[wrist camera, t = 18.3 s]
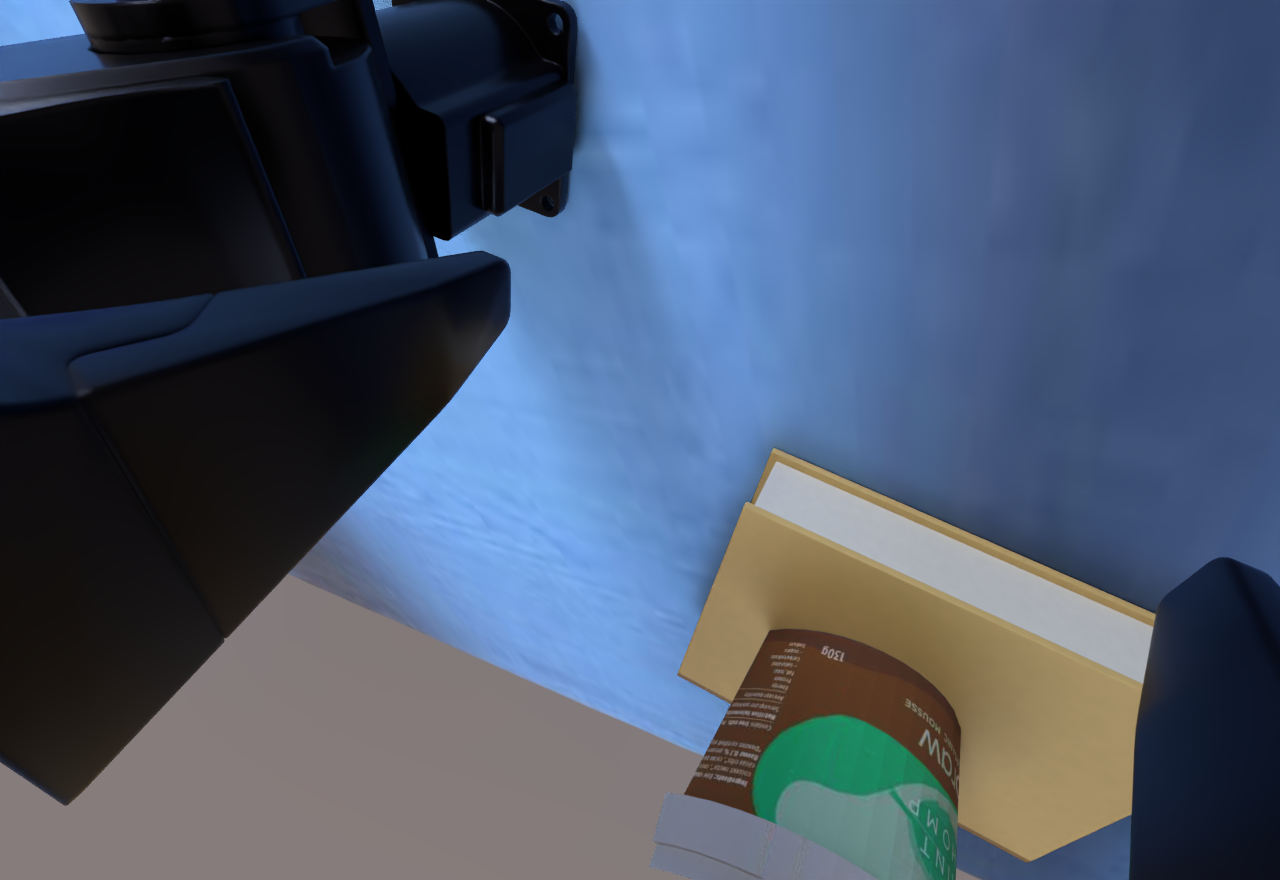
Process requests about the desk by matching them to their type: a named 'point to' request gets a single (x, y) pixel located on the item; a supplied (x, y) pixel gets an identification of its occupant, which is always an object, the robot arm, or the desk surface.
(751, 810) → the food container
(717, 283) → the desk surface
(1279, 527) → the desk surface
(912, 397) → the desk surface
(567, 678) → the desk surface
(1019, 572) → the book
